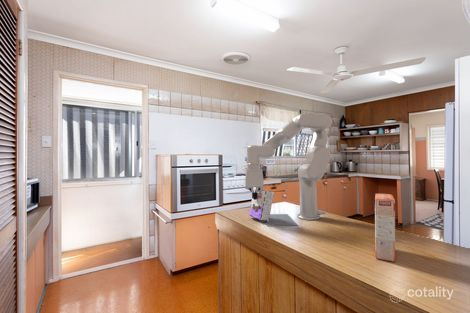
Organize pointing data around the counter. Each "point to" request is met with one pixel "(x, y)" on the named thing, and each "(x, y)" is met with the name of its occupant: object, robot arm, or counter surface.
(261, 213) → the candy box
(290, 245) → the counter surface
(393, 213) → the cracker box
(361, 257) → the counter surface
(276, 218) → the mat
